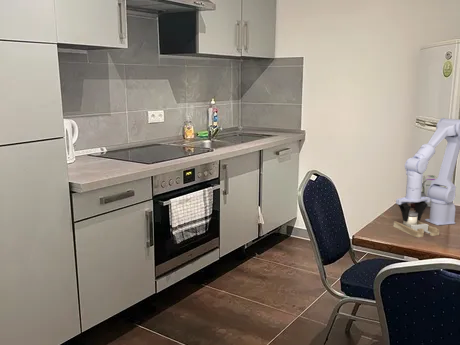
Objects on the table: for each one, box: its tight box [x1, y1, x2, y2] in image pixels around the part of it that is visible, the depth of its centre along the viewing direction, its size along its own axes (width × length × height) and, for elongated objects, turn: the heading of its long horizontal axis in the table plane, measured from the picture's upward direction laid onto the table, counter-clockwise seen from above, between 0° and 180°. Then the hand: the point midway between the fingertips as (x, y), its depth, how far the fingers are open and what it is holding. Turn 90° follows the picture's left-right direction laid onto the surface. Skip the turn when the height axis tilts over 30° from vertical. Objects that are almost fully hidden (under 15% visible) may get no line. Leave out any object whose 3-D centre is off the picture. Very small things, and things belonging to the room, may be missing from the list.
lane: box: [393, 220, 440, 238], centre depth 184 cm, size 10×15×3 cm
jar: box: [402, 210, 418, 228], centre depth 187 cm, size 5×5×6 cm
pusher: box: [411, 223, 430, 235], centre depth 179 cm, size 7×6×3 cm
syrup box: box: [421, 174, 438, 208], centre depth 222 cm, size 6×6×14 cm
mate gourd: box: [410, 180, 427, 211], centre depth 216 cm, size 8×8×15 cm
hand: (411, 220), depth 186 cm, fingers closed on jar, 5 cm apart
